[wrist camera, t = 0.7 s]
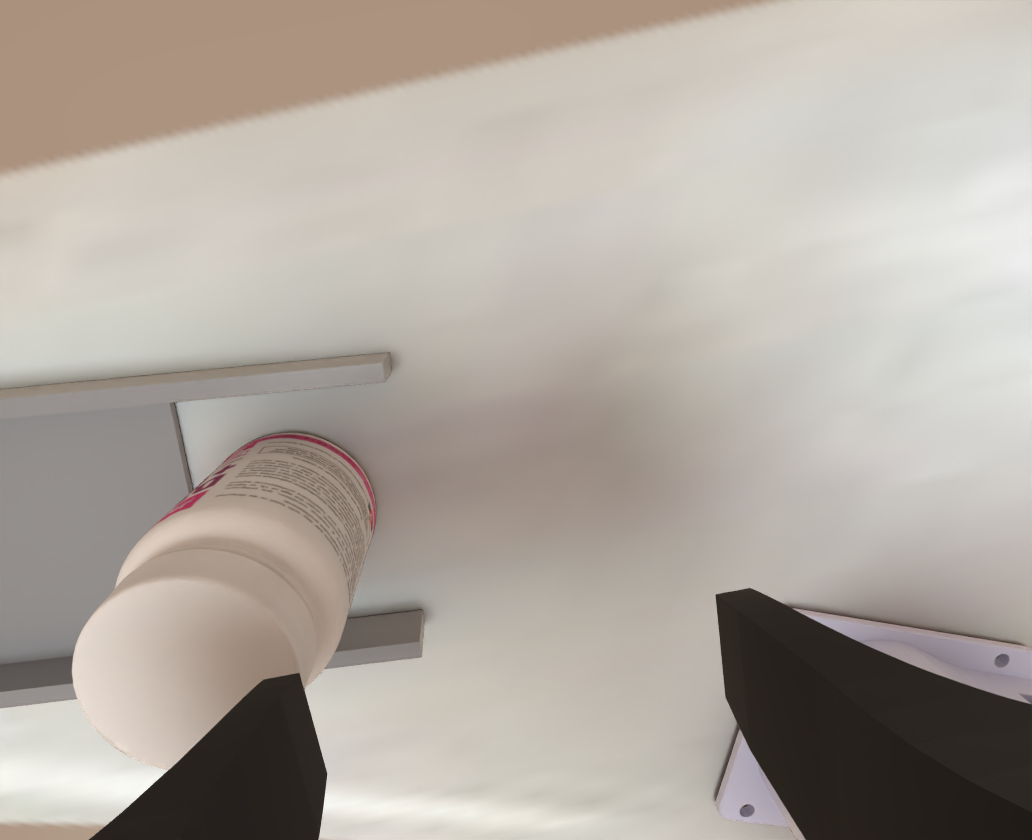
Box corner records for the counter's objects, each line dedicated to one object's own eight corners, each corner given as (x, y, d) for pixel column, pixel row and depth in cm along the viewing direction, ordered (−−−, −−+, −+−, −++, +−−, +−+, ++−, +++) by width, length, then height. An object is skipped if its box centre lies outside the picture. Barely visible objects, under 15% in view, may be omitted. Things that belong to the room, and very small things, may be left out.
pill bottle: (234, 407, 20) (76, 521, 11) (397, 457, 20) (358, 598, 12) (195, 556, 20) (21, 760, 12) (351, 598, 21) (286, 816, 13)
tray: (389, 352, 19) (382, 363, 18) (424, 624, 22) (421, 657, 20) (-175, 405, 19) (-240, 422, 17) (-80, 683, 21) (-129, 724, 19)
